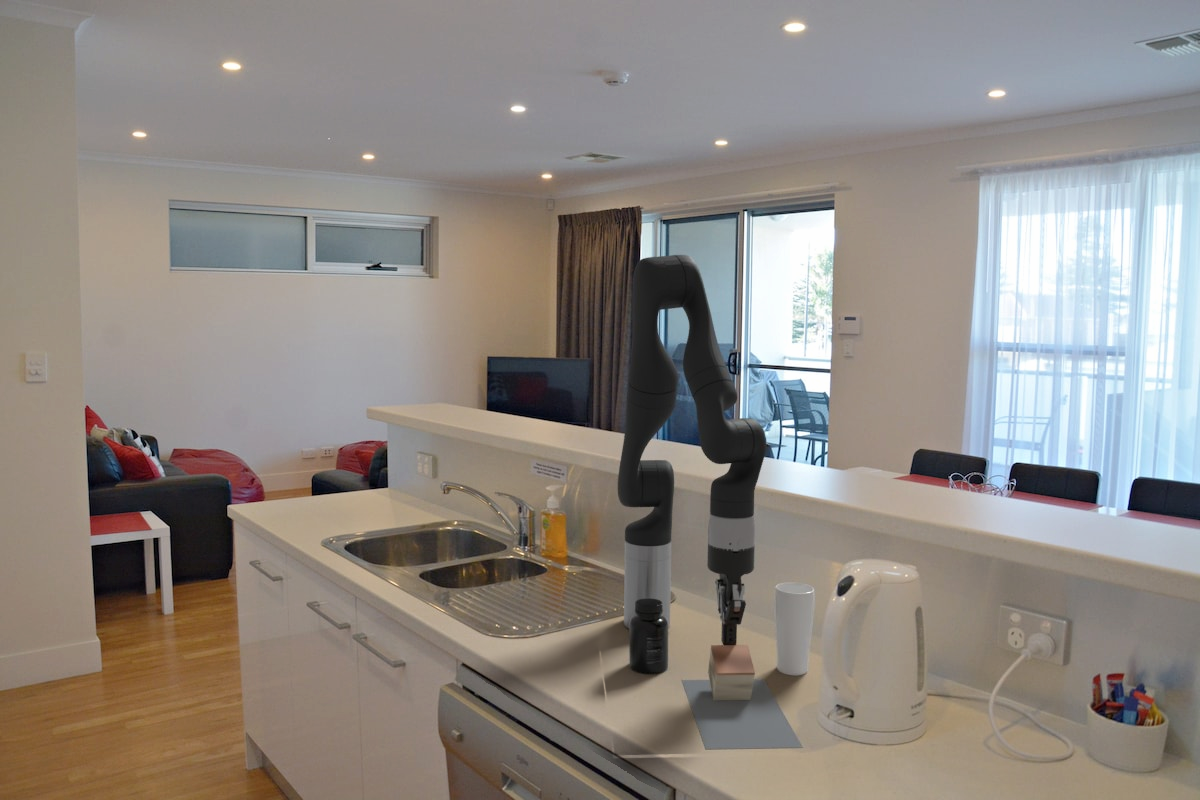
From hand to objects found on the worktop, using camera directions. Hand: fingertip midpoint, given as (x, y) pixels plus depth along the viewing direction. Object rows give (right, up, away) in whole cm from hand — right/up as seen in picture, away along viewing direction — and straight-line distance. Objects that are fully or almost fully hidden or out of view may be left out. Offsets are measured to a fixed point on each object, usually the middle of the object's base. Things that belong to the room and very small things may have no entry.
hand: (728, 644), depth 146 cm
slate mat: (0, -9, -7) cm, 11 cm away
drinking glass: (+12, -7, +9) cm, 17 cm away
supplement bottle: (-13, -7, +10) cm, 18 cm away
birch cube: (0, -7, -1) cm, 7 cm away
